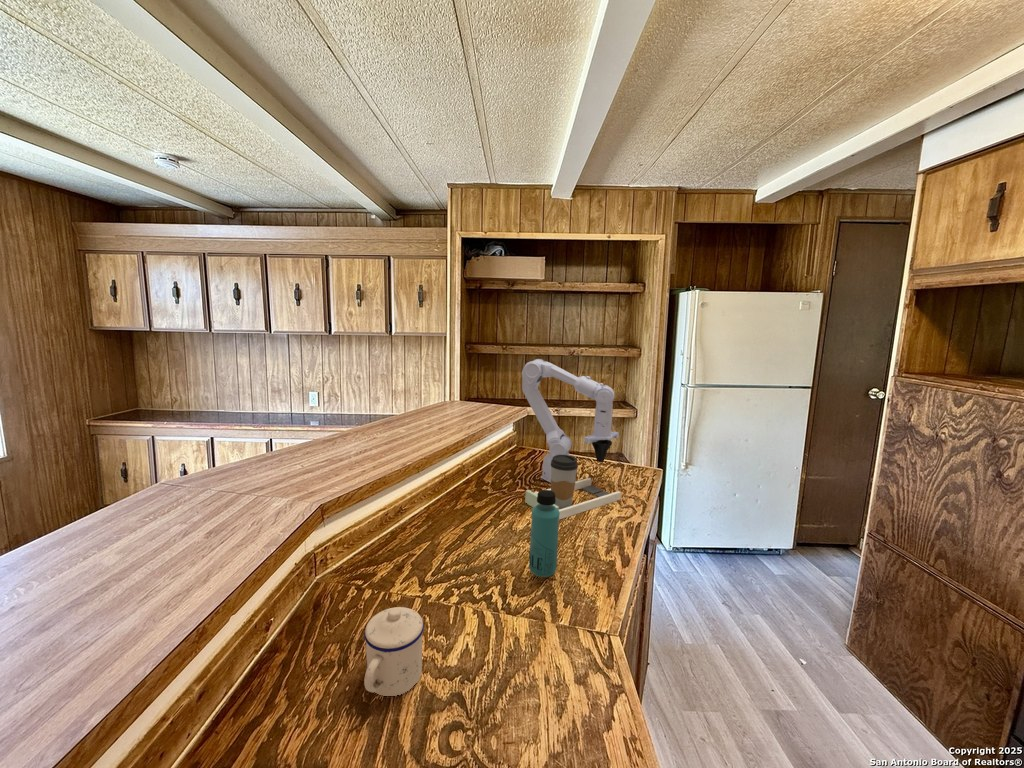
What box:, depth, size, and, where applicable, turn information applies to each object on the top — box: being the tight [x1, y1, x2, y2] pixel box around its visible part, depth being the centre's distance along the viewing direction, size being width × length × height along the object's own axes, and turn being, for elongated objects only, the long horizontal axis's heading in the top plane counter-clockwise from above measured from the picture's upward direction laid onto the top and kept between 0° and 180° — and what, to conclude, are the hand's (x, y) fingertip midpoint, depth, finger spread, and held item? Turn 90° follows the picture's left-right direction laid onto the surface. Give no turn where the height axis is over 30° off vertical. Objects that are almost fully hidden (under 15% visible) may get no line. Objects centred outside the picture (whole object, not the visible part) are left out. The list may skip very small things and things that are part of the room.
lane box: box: [534, 477, 622, 521], centre depth 139 cm, size 14×28×2 cm, turn 126°
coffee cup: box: [550, 455, 579, 510], centre depth 135 cm, size 8×8×15 cm
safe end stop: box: [524, 489, 560, 510], centre depth 131 cm, size 14×1×4 cm, turn 36°
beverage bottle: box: [528, 489, 560, 578], centre depth 98 cm, size 6×7×20 cm
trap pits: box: [581, 484, 611, 498], centre depth 146 cm, size 11×5×1 cm, turn 36°
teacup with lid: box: [363, 606, 425, 697], centre depth 69 cm, size 12×9×12 cm
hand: (600, 460), depth 150 cm, fingers closed
